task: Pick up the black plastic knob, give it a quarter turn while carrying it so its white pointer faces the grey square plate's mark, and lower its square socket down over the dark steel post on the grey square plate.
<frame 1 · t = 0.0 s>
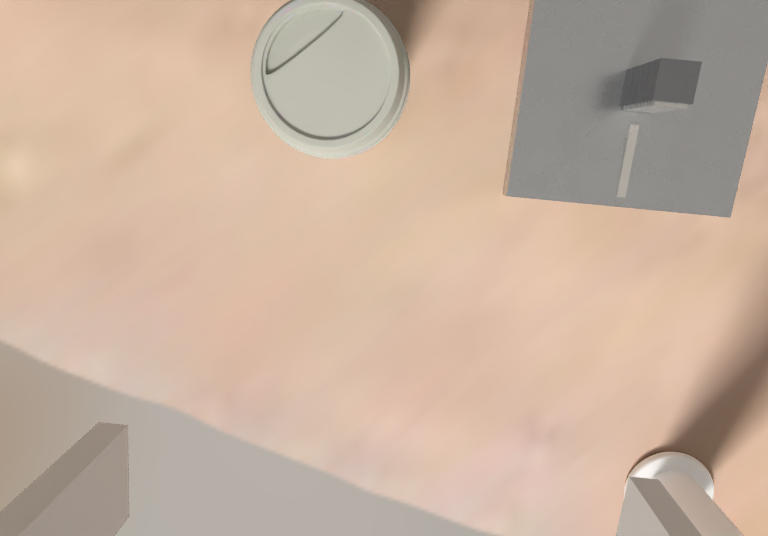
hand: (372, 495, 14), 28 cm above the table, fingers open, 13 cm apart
grey square plate: (631, 92, 38), on the table
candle: (665, 486, 45), on the table
coffee cup: (349, 95, 39), on the table
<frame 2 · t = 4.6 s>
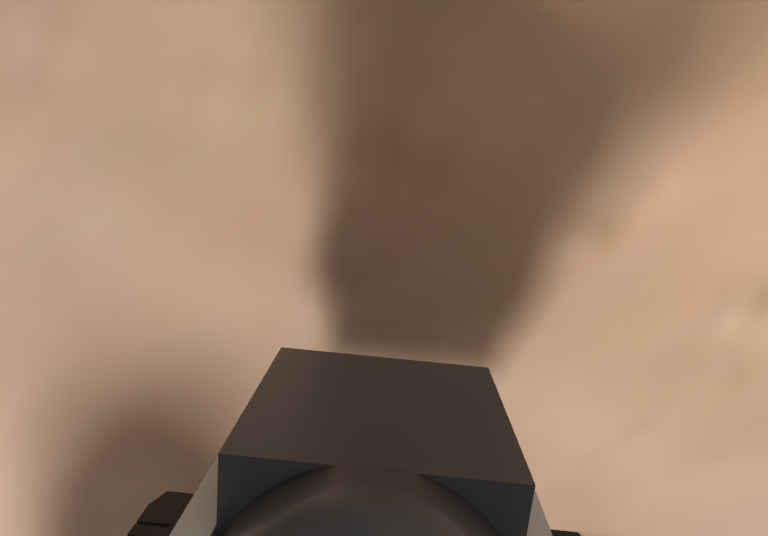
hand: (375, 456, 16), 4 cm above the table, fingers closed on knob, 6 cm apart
knob: (375, 450, 16), point 4 cm above the table, touching gripper
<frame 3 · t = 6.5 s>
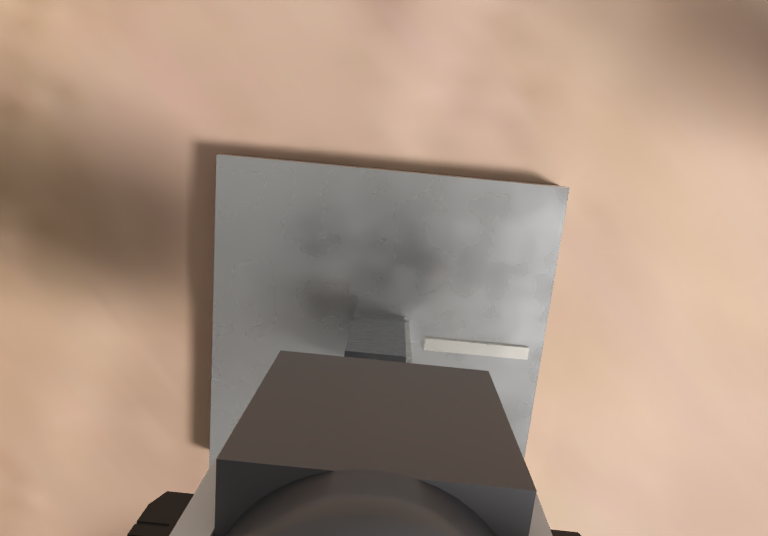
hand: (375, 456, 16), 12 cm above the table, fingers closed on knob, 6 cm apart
knob: (375, 454, 16), point 12 cm above the table, touching gripper
grey square plate: (378, 328, 27), on the table
when the fingers open (2 cm above the table, at t = 8.3 s): knob stays where it is, resting on grey square plate.
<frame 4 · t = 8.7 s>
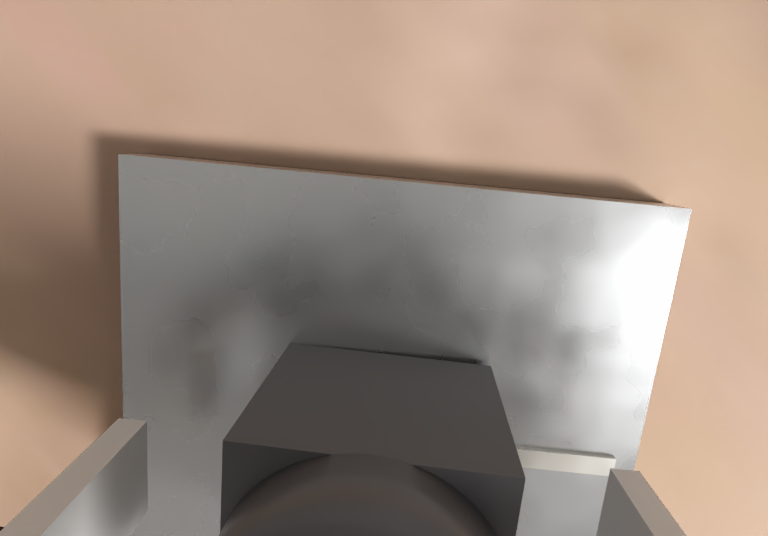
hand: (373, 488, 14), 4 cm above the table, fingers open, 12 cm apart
knob: (380, 444, 17), point 2 cm above the table, touching grey square plate
grey square plate: (379, 416, 18), on the table
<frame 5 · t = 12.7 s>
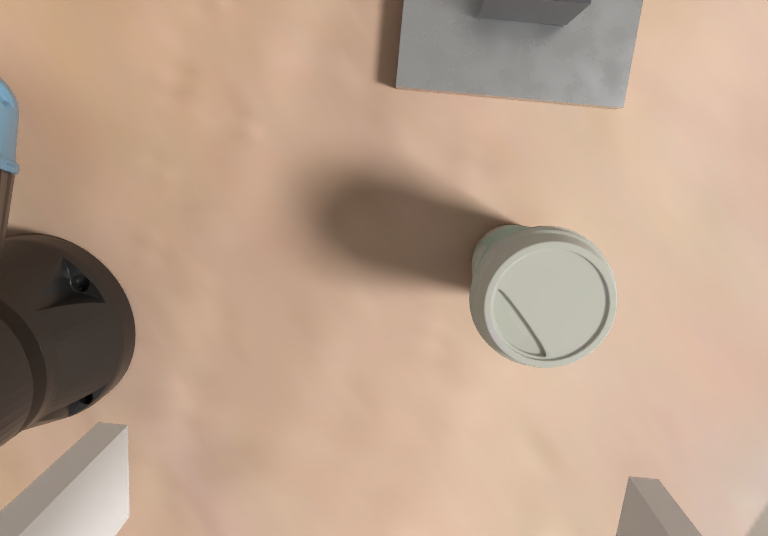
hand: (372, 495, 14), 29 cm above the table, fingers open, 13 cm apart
coffee cup: (508, 260, 42), on the table
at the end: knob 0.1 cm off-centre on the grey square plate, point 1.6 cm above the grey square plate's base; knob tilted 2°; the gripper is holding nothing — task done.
